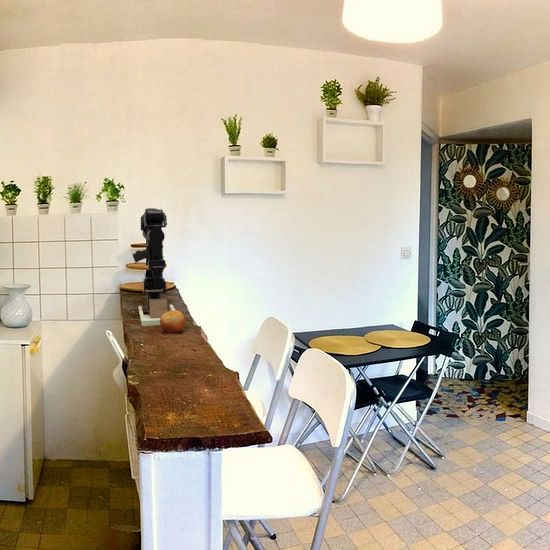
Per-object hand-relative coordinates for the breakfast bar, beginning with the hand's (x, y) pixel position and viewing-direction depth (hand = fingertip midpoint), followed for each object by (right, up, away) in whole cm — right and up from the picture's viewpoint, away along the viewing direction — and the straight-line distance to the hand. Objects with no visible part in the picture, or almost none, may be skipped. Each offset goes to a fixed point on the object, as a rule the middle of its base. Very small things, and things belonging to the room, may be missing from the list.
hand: (155, 283), depth 197 cm
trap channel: (+3, -13, -7) cm, 15 cm away
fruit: (+12, -16, -29) cm, 35 cm away
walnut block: (+3, -12, -8) cm, 15 cm away
